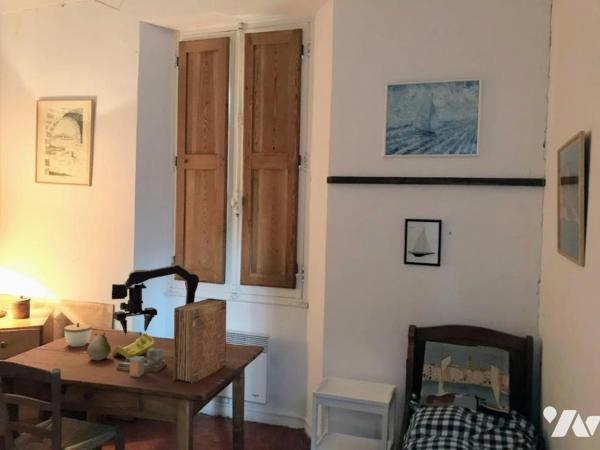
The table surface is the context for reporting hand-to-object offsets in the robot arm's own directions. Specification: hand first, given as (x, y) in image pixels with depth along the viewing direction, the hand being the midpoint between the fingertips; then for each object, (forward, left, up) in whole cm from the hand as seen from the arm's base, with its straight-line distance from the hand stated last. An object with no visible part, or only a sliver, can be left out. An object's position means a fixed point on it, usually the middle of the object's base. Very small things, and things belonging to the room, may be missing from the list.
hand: (135, 332), depth 240 cm
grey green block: (-8, +16, -14) cm, 23 cm away
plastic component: (+6, -12, -14) cm, 19 cm away
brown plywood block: (-34, +9, -14) cm, 38 cm away
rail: (-6, +7, -13) cm, 16 cm away
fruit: (+18, 0, -14) cm, 22 cm away
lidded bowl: (+40, -20, -14) cm, 47 cm away
